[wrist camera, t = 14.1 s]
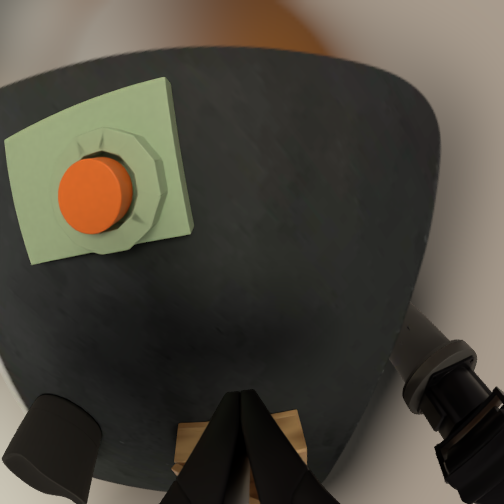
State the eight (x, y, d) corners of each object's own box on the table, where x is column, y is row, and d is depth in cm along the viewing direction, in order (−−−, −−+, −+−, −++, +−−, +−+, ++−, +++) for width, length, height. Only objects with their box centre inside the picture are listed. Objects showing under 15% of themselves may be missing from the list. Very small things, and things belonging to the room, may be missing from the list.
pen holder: (41, 376, 21) (1, 447, 12) (117, 425, 24) (97, 502, 14) (30, 410, 23) (2, 467, 14) (92, 449, 26) (75, 510, 16)
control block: (170, 82, 14) (157, 67, 11) (194, 226, 17) (186, 244, 14) (18, 139, 14) (-13, 141, 11) (43, 256, 17) (17, 275, 14)
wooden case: (296, 408, 24) (307, 448, 20) (300, 472, 29) (306, 500, 25) (178, 422, 24) (173, 461, 19) (214, 482, 29) (215, 510, 25)
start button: (126, 148, 13) (113, 149, 11) (140, 218, 14) (129, 227, 12) (68, 167, 13) (51, 170, 11) (82, 231, 14) (67, 240, 12)
